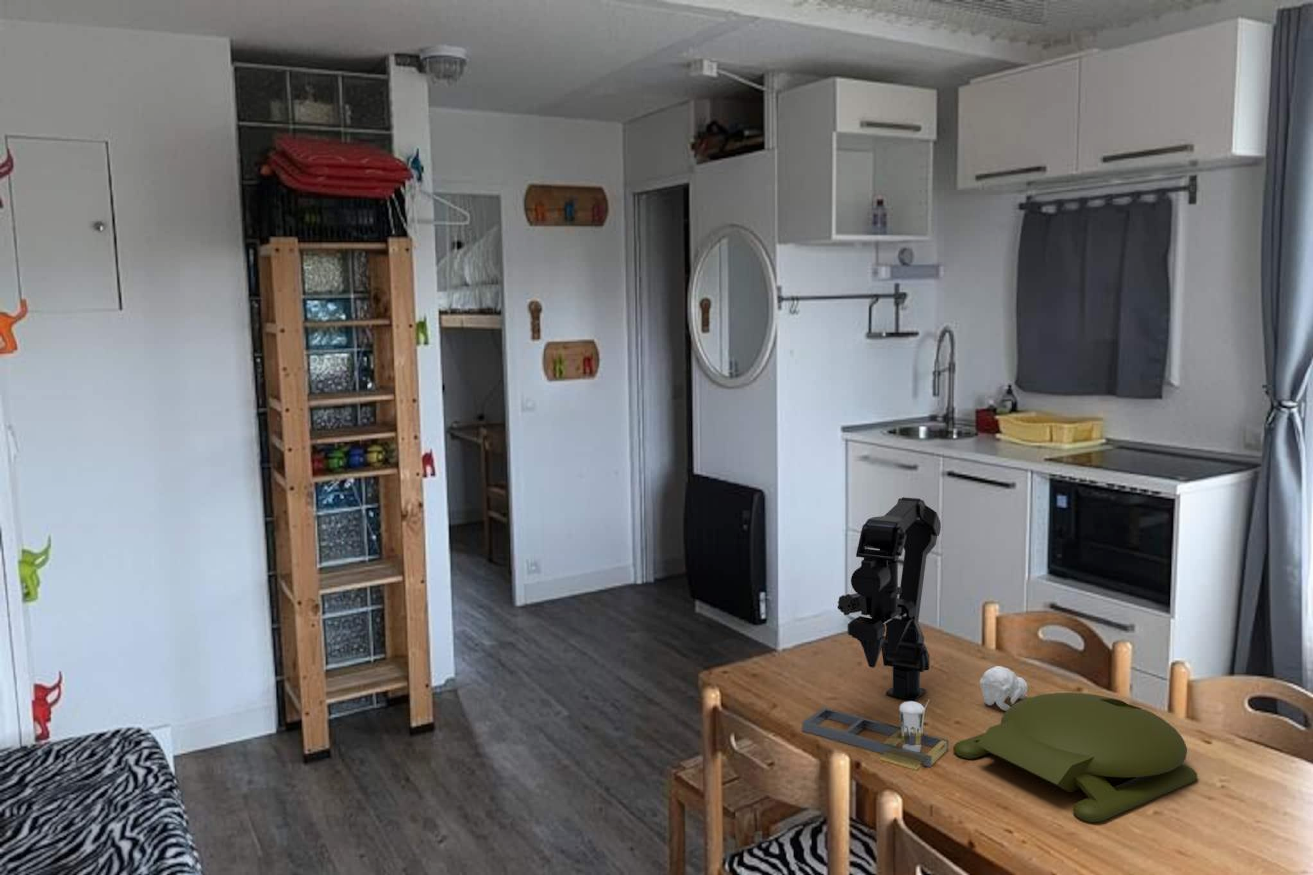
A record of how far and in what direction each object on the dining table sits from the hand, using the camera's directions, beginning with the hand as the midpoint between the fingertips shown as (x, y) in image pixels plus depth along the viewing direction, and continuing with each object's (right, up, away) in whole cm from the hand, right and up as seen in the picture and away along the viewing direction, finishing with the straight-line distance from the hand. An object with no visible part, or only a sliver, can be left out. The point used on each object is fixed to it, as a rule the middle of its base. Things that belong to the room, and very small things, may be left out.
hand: (882, 659), depth 190 cm
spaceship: (+32, -15, -16) cm, 39 cm away
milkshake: (+4, -15, -10) cm, 18 cm away
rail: (-3, -14, -6) cm, 15 cm away
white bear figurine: (+28, -11, +9) cm, 32 cm away
